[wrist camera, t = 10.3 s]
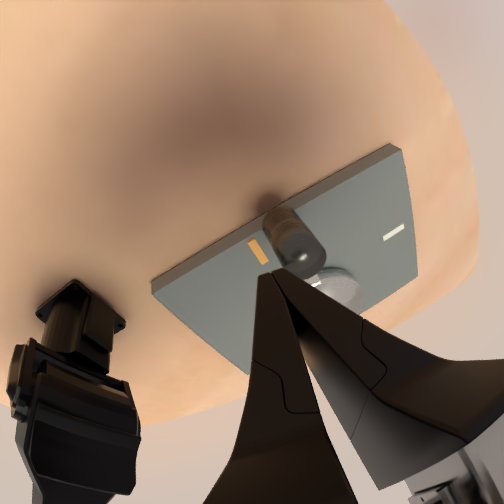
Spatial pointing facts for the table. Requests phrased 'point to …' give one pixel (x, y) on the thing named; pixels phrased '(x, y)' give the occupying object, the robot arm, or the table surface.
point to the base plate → (327, 233)
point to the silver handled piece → (308, 257)
